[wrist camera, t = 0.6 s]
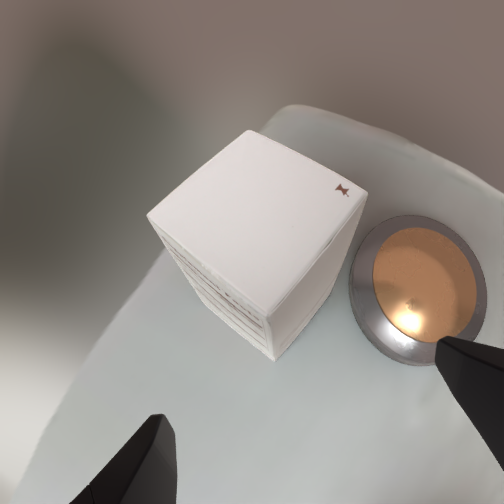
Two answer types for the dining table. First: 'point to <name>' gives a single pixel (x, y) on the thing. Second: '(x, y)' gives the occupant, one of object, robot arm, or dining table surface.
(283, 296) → the supplement box
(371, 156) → the dining table surface
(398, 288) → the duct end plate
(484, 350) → the robot arm
